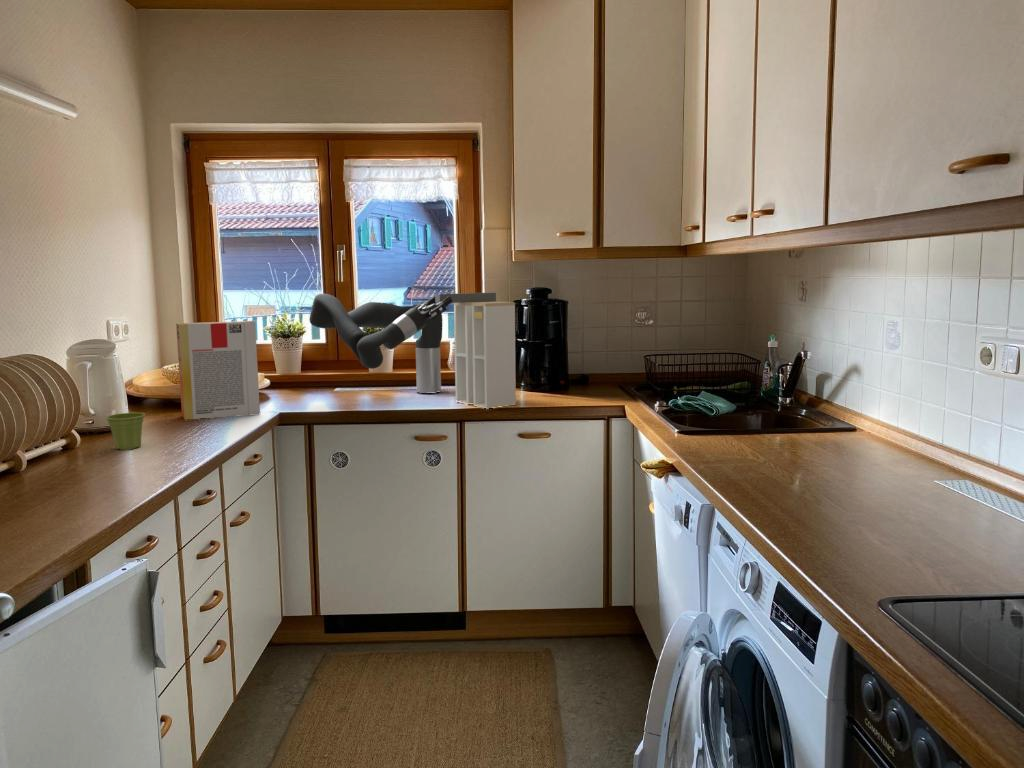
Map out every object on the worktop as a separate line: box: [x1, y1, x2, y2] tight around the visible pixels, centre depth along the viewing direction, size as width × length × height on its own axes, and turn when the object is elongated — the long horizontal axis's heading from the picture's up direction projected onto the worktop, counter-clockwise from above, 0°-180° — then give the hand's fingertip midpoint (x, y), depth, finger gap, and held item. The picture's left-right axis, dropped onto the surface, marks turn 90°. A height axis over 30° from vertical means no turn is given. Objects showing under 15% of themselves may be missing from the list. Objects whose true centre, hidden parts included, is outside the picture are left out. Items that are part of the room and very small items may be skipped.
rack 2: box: [472, 301, 517, 410], centre depth 279 cm, size 12×8×35 cm, turn 127°
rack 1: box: [453, 302, 482, 403], centre depth 288 cm, size 12×8×35 cm, turn 127°
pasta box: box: [175, 320, 261, 420], centre depth 266 cm, size 23×8×30 cm, turn 117°
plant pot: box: [105, 412, 146, 451], centre depth 218 cm, size 9×9×9 cm
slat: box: [434, 292, 497, 304], centre depth 283 cm, size 23×3×3 cm, turn 127°
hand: (444, 298), depth 278 cm, fingers open, 8 cm apart
